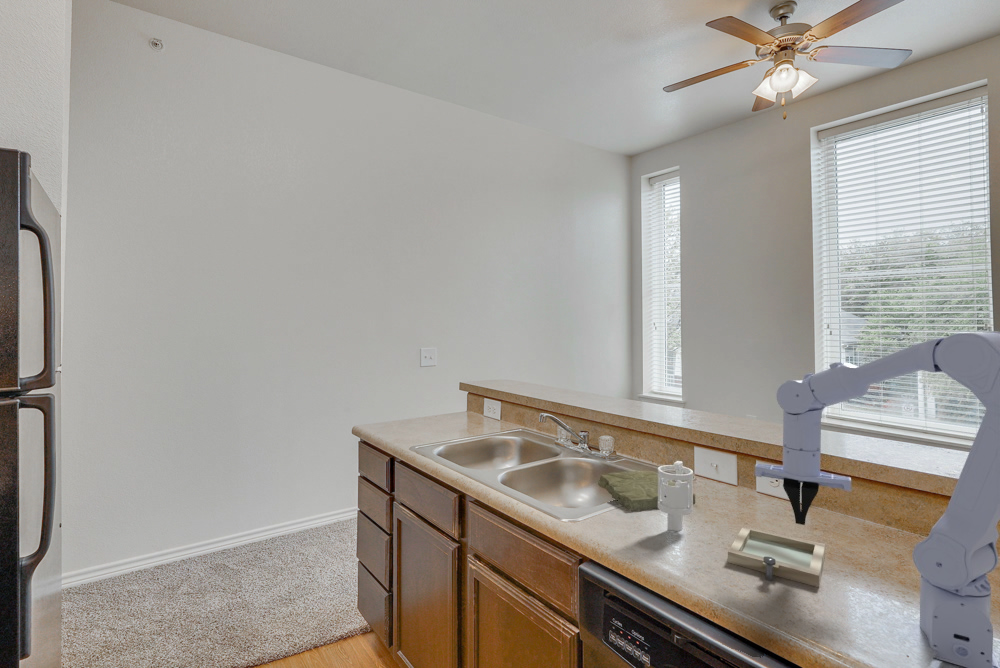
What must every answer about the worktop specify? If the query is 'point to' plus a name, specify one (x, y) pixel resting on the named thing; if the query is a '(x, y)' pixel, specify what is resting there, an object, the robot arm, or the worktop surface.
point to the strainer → (675, 494)
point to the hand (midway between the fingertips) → (800, 522)
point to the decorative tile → (634, 488)
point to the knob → (769, 567)
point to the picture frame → (779, 554)
